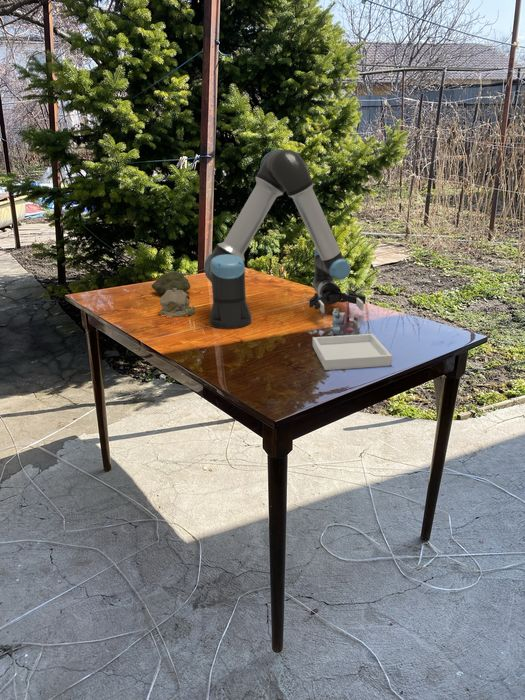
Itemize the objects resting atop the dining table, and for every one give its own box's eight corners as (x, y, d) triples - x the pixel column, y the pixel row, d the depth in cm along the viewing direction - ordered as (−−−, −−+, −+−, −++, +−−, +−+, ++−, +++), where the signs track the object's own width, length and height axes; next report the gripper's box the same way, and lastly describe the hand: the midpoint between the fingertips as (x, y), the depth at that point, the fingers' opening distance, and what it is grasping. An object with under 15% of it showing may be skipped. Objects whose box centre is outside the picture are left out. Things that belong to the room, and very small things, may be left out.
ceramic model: (154, 317, 200) (151, 291, 196) (165, 308, 210) (163, 284, 206) (189, 318, 197) (187, 292, 193) (199, 309, 207) (197, 284, 203)
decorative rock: (162, 300, 221) (159, 277, 217) (149, 292, 234) (147, 270, 230) (194, 294, 228) (193, 272, 224) (181, 287, 241) (179, 265, 237)
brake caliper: (366, 333, 167) (343, 303, 165) (338, 351, 172) (316, 322, 170) (368, 322, 177) (347, 294, 176) (342, 339, 182) (321, 312, 180)
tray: (325, 370, 147) (325, 360, 146) (312, 346, 164) (312, 337, 163) (391, 365, 148) (392, 355, 147) (372, 342, 166) (372, 333, 165)
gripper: (361, 299, 202) (378, 316, 182) (296, 303, 200) (307, 320, 180) (361, 280, 199) (379, 295, 180) (296, 284, 197) (306, 299, 177)
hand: (343, 307), depth 180 cm, fingers open, 13 cm apart
